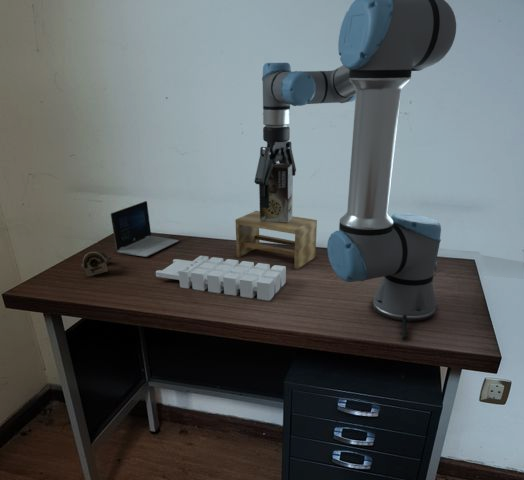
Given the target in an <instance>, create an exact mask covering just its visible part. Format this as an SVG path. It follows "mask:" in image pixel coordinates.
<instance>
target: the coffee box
mask: <svg viewBox="0 0 524 480" xmlns="http://www.w3.org/2000/svg"><path fill="white" fill-rule="evenodd" d="M293 177H294V176H293V164H285V163H279V162H276V164H274V166H273V169H272V172H271V175H270V177H269V180H268V183H267V185H269V208H263V207H260V206H259V211H260V221H262V222H281V223H288V222H289V221H290V220H291V219H292V216H293V182H294V181H293ZM258 196H259V198H258V199H260V192H259V191H258Z"/></svg>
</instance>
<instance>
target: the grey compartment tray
mask: <svg viewBox="0 0 524 480" xmlns="http://www.w3.org/2000/svg"><path fill="white" fill-rule="evenodd" d="M209 257H210V256H207V255H199V256H198V257H196V258H195V259H194V260H186V259H178V258H174V259H172V263H171V264H170V265H168V266H166V267H165V268H163V269H162V270H161V269H157V270H156V271H155V276H156V277H157V278H163V279H170V280H177V281H178V282H179V287H180V288H183V289H190V288H192V290H196V291H203V292H205V290H207V292H210V293H216V294H221V293H222V292H223V295H229V296H238V295H240V297H243V298H247V299H248V298H249V299H254V297H255V296H256V299H257V300H262V301H266V302H267V301H271V300H272V299H273V298H274V296H275V295H276V294H277V293H278V292H279V291H280V290H281V288H282V287H284V285H285V284H286V282H287V266H285V265H278V264H274V265H273V266H272V267H271V264H269V263H261V262H258V263H256V264H255V262H254V261H246V260H242V261H241V262H240V261H239V260H238V259H231V258H227V259H225V260H224V258H222V257H215V256H212V257H210V258H209ZM239 293H240V294H239Z"/></svg>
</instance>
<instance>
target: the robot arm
mask: <svg viewBox="0 0 524 480" xmlns="http://www.w3.org/2000/svg"><path fill="white" fill-rule="evenodd" d="M456 19H457V18H456V15H455V12H454V10H453V8H452V7H451V5H450V4H449V3H448V2H447V1H446V0H354V1H353V2H352V3H351V5H350V6H349V8H348V10H347V11H346V13H345V15H344V17H343V20H342V23H341V26H340V29H339V35H338V42H337V43H338V45H337V46H338V47H337V49H338V55H339V56H340V57H339V60H340V62H341V64H342V65H341V66H339V67H337V68H336V69H333V70H307V71H303V70H302V71H301V70H295V71H292V69H291V65H290V63H289V62H266V63H264V64H263V67H262V77H261V81H262V120H263V121H262V125H264V126H263V128H262V139H263V141H264V142H266V146H260V148H259V149H260V150H259V159H258V163H257V167H256V172H255V177H254V183H255V184H256V185H258V193H259V192H260V198H259V208H260V207H263V208H269V185H267V183H268V180H269V177H270V175H271V172H272V169H273V166H274V164H276V163H285V164H293V177H295V176H296V173H297V167H296V164H295V159H294V154H293V150H292V149H293V147H292V142H291V141H290V136H291V135H290V133H291V129H290V126H289V125H290V123H291V106H292V107H302V106H305V105H317V104H338V103H339V104H345V103H350V102H351V103H352V102H354V113H353V125H352V126H353V128H352V140H351V141H352V142H351V156H350V168H349V169H350V170H349V181H348V182H349V183H348V195H347V196H348V197H347V209H346V210H347V211H346V212H345V213H344V214H343V215H342V216H341V217H340V218H339V223H338V230H335V231H333V232H332V233H330V235H329V237H328V239H327V245H326V248H327V256H328V261H329V264H330V266H331V268H332V270H333V272H334V273H335V275H336V276H337V277H338V278H339V279H340V280H342V281H344V282H345V283H346V282H347V283H354V282H365V281H367V280H368V281H369V280H372V279H378V278H382V280H381V282H380V283H379V286H378V288H377V290H376V292H375V295H374V297H373V301H372V308H373V310H374V311H375V312H376V313H377V314H379V315H381V316H382V317H385V318H387V319H390V320H395V321H399V322H402V331H401V332H402V341H406V340H408V339H407V337H408V336H407V333H408V332H407V322H421V321H425V320H429V319H431V318H432V317H433V316H434V315H435V314H436V309H437V301H436V294H435V289H434V284H433V281H434V276H435V269H436V266H437V264H436V262H437V260H438V254H439V249H440V244H441V241H442V239H441V235H442V226H441V224H440V223H439V221H438V220H436V219H433V218H431V217H428V216H424V215H420V214H415V213H405V212H402V213H401V212H399V213H394V214H392V215H391V216H390V215H389V214H388V212H389V210H388V209H389V203H390V202H389V201H390V194H391V185H392V184H391V183H392V175H393V166H394V159H395V157H394V156H395V149H396V140H397V132H398V122H399V114H400V104H401V96H402V90H403V88H404V87H405V86H406V85H407V83H408V82H410V81H411V78H412V73H416V72H419V71H422V70H424V69H427V68H429V67H431V66H433V65H435V64H437V63H439V62H440V61H441V60H442V59H444V58H445V57H446V56H447V54H448V53H449V52H450V50H451V48H452V46H453V44H454V41H455V39H456V34H457V20H456ZM435 265H436V266H435Z"/></svg>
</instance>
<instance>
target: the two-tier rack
mask: <svg viewBox="0 0 524 480" xmlns="http://www.w3.org/2000/svg"><path fill="white" fill-rule="evenodd" d="M234 221H235V244H236V245H235V246H236V247H235V248H236V258H237V257H238V258H241V257H244V256H245V255H246V254H248V253H250V252H252V251H254V250H261V251H266V252H271V253H276V254H281V255H287V256H292V257H294V263H293V265H294V266H293V267H294V268H293V269H295V270H299V269H300V268H302V267H303V266H305V265H306V264H308V263H309V262H310V261H312V260H314V259H315V258H316V251H317V228H318V219H312V218H306V217H300V216H295V215H292V219H291V220H290V221H289V222H288V223H281V222H262V221H260V210H254V211H252V212H249V213H247V214H245V215H243V216H240V217H237V218H236V219H235V220H234ZM260 229H263V230H267V231H275V232H279V233H286V234H291V235H294V240H290V239H286V238H279V237H275V236H274V237H273V236H269V235H264V234H260ZM260 241H264V242H268V243H275V244H280V245H285V246H289V247H290V246H291V247H294V249H289V248H283V247H278V246H272V245H268V244H262V243H260Z"/></svg>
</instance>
